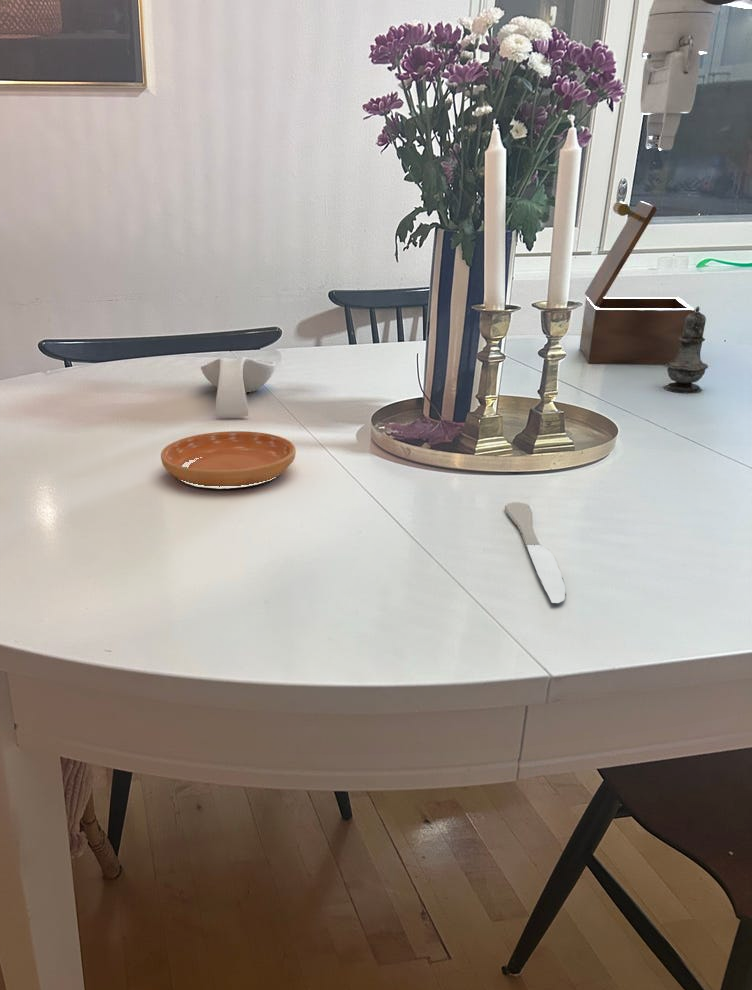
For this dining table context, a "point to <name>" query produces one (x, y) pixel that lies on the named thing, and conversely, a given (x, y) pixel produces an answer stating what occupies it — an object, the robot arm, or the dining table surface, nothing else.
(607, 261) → the lid
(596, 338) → the chest
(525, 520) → the utensil handle
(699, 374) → the salt shaker
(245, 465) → the saucer
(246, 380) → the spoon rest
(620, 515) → the dining table surface
